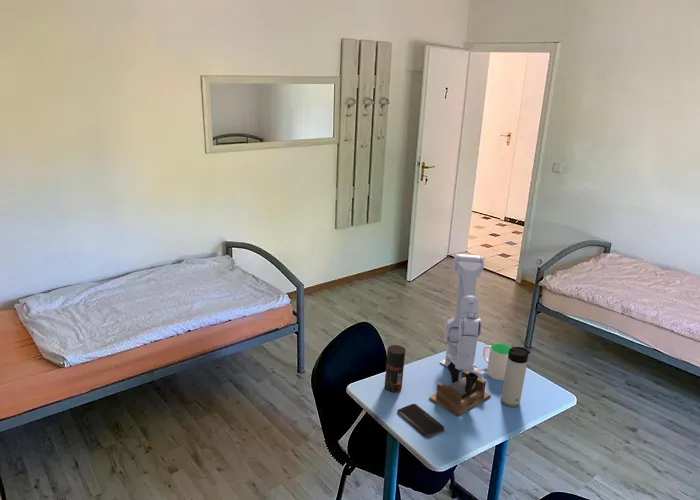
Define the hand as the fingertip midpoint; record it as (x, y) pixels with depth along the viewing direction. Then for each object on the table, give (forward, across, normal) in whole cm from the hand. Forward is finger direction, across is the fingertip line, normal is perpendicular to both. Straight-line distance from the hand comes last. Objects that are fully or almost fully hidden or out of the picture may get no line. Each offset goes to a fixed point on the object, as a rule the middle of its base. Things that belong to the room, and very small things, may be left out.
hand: (461, 387), depth 186 cm
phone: (+5, 0, -20) cm, 21 cm away
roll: (+2, 0, 0) cm, 3 cm away
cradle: (+4, 0, 0) cm, 4 cm away
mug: (+4, -3, +24) cm, 25 cm away
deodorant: (+4, -18, -14) cm, 23 cm away
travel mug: (+4, +12, +12) cm, 18 cm away
